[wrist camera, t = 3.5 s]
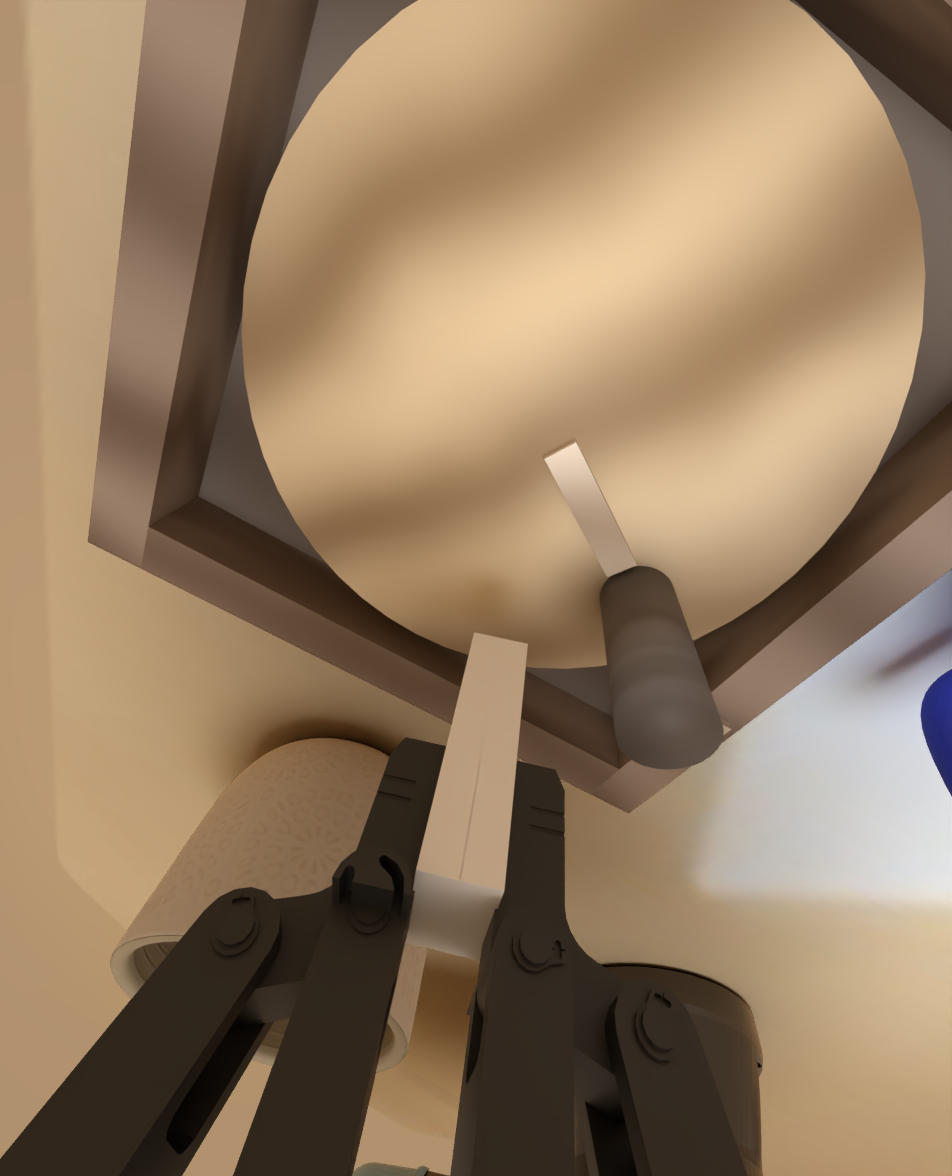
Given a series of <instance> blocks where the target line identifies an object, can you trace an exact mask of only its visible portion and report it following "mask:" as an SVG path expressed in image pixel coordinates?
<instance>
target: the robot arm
mask: <svg viewBox="0 0 952 1176" xmlns="http://www.w3.org/2000/svg"><path fill="white" fill-rule="evenodd" d="M527 647H528V644H526V643H522V642H517V641H512V640H508V639H503V638H498V637H494V636H489V635H484V634H480V633H475V632H474V635H473V639H472V643H471V648H470V652H469V656H468V660H467V664H466V668H465V672H464V676H463V680H462V684H461V688H460V692H459V697H458V701H457V705H456V709H455V713H454V717H453V721H452V725H451V729H450V733H449V737H448V741H447V746H442V745H438V744H433V743H429V742H425V741H420V740H416V739H411V738H407V737H406V738H405V739H404V740H403V741H402V742H401V743H400V744H399V745H398V746H397V747H396V748H395V749H394V750H393V751H392V752H391V754H390V757H389V759H388V762H387V765H386V768H385V771H384V774H383V777H382V779H381V782H380V785H379V788H378V790H377V794H376V796H375V799H374V802H373V804H372V807H371V810H370V813H369V816H368V818H367V821H366V824H365V827H364V830H363V833H362V835H361V838H360V841H359V844H358V847H357V849H356V851H354V852H353V853H351V854H350V855H349V856H348V857H347V858H345V859H344V860H343V861H342V862H341V863H340V864H339V866H338V868H337V869H336V871H335V873H334V874H333V876H332V885H331V886H330V887H328V888H326V889H324V890H322V891H320V892H316V893H312V894H308V895H302V896H294V897H287V898H279V899H273V898H272V897H271V896H270V895H269V894H268V893H267V892H266V891H264V890H260V889H257V888H253V887H247V888H239V889H234V890H232V891H230V892H228V893H226V894H224V895H222V896H220V897H218V898H217V899H216V900H215V901H214V902H213V903H212V904H211V905H209V906H208V907H207V908H206V909H205V910H204V911H203V912H202V914H201V915H200V916H199V917H198V919H197V920H196V921H195V922H194V923H193V925H192V926H191V927H190V928H189V929H188V931H187V932H186V933H185V934H184V936H183V937H182V938H181V939H180V940H179V942H178V943H177V944H176V945H175V947H174V948H173V949H172V950H171V951H170V953H169V954H168V955H167V956H166V958H165V959H164V960H163V961H162V962H161V964H160V965H159V966H158V967H157V968H156V970H155V971H154V972H153V973H152V975H151V976H150V977H149V978H148V979H147V981H146V982H145V983H144V984H143V986H142V987H141V988H140V989H139V990H138V992H137V993H136V994H135V995H134V997H133V998H132V999H131V1000H130V1001H129V1003H128V1004H127V1005H126V1006H125V1008H124V1009H123V1010H122V1011H121V1012H120V1014H119V1015H118V1016H117V1017H116V1018H115V1020H114V1021H113V1022H112V1023H111V1025H110V1026H109V1027H108V1028H107V1029H106V1031H105V1032H104V1033H103V1034H102V1036H101V1037H100V1038H99V1039H98V1040H97V1042H96V1043H95V1044H94V1045H93V1046H92V1048H91V1049H90V1050H89V1051H88V1053H87V1054H86V1055H85V1056H84V1058H83V1059H82V1060H81V1061H80V1062H79V1064H78V1065H77V1066H76V1067H75V1068H74V1070H73V1071H72V1072H71V1073H70V1075H69V1076H68V1077H67V1078H66V1080H65V1081H64V1082H63V1083H62V1084H61V1086H60V1087H59V1088H58V1089H57V1090H56V1092H55V1093H54V1094H53V1095H52V1096H51V1098H50V1099H49V1100H48V1101H47V1103H46V1104H45V1105H44V1106H43V1108H42V1109H41V1110H40V1111H39V1112H38V1114H37V1115H36V1116H35V1117H34V1119H33V1120H32V1121H31V1122H30V1123H29V1124H28V1126H27V1127H26V1128H25V1129H24V1131H23V1132H22V1133H21V1134H20V1136H19V1137H18V1138H17V1139H16V1140H15V1142H14V1143H13V1144H12V1145H11V1146H10V1148H9V1149H8V1150H7V1151H6V1153H5V1154H4V1155H3V1156H2V1157H1V1159H0V1176H182V1175H183V1173H184V1172H185V1170H186V1168H187V1167H188V1165H189V1163H190V1162H191V1160H192V1158H193V1157H194V1155H195V1153H196V1152H197V1150H198V1148H199V1147H200V1145H201V1143H202V1142H203V1140H204V1138H205V1137H206V1135H207V1133H208V1132H209V1130H210V1128H211V1127H212V1125H213V1123H214V1121H215V1120H216V1118H217V1117H218V1115H219V1113H220V1111H221V1110H222V1108H223V1107H224V1105H225V1103H226V1102H227V1100H228V1098H229V1096H230V1095H231V1093H232V1091H233V1090H234V1088H235V1086H236V1085H237V1083H238V1081H239V1080H240V1078H241V1076H242V1075H243V1073H244V1071H245V1070H246V1068H247V1066H248V1065H249V1063H250V1061H251V1060H252V1058H253V1056H254V1055H255V1053H256V1051H257V1050H258V1048H259V1046H260V1045H261V1043H262V1041H263V1040H264V1038H265V1036H266V1035H267V1033H268V1031H269V1030H270V1028H271V1026H272V1025H273V1023H274V1021H278V1020H283V1019H289V1018H290V1020H289V1023H288V1025H287V1028H286V1031H285V1034H284V1036H283V1039H282V1042H281V1045H280V1047H279V1050H278V1053H277V1056H276V1058H275V1061H274V1064H273V1067H272V1069H271V1072H270V1075H269V1078H268V1081H267V1083H266V1086H265V1089H264V1092H263V1094H262V1097H261V1100H260V1103H259V1106H258V1108H257V1111H256V1114H255V1117H254V1119H253V1122H252V1125H251V1128H250V1130H249V1133H248V1136H247V1139H246V1142H245V1144H244V1147H243V1150H242V1152H241V1155H240V1158H239V1161H238V1164H237V1166H236V1169H235V1172H234V1174H233V1176H448V1175H443V1174H439V1173H435V1172H431V1171H428V1170H429V1168H427V1167H425V1166H420V1167H419V1168H418V1169H413V1168H407V1167H400V1166H394V1165H388V1164H382V1163H367V1164H364V1165H362V1166H360V1167H358V1168H357V1169H356V1170H354V1165H355V1161H356V1156H357V1152H358V1148H359V1144H360V1139H361V1135H362V1131H363V1126H364V1122H365V1118H366V1113H367V1109H368V1105H369V1100H370V1096H371V1092H372V1087H373V1083H374V1079H375V1074H376V1070H377V1066H378V1061H379V1057H380V1053H381V1048H382V1044H383V1040H384V1035H385V1031H386V1027H387V1022H388V1018H389V1014H390V1010H391V1005H392V1001H393V997H394V992H395V988H396V984H397V978H398V972H399V967H400V963H401V959H402V955H403V950H404V946H405V943H407V944H411V945H415V946H419V947H424V948H428V949H432V950H436V951H440V952H445V953H449V954H453V955H457V956H461V957H465V958H470V959H474V960H478V961H479V959H480V956H481V959H480V967H479V976H478V983H477V986H476V989H475V991H474V994H473V997H472V999H471V1002H470V1005H469V1009H468V1012H467V1015H471V1016H470V1024H469V1032H468V1040H467V1048H466V1056H465V1064H464V1071H463V1079H462V1087H461V1095H460V1103H459V1111H458V1119H457V1127H456V1135H455V1143H454V1150H453V1158H452V1166H451V1174H450V1176H763V1173H762V1161H761V1112H760V1090H759V1076H760V1074H761V1072H762V1065H763V1055H762V1049H761V1045H760V1041H759V1037H758V1033H757V1029H756V1025H755V1021H754V1017H753V1014H752V1012H751V1010H750V1008H749V1007H748V1006H747V1005H746V1003H745V1002H744V1001H743V1000H741V999H740V998H739V997H738V996H736V995H735V994H733V993H732V992H730V991H729V990H727V989H725V988H723V987H721V986H719V985H717V984H715V983H712V982H710V981H707V980H705V979H702V978H699V977H695V976H692V975H688V974H684V973H680V972H676V971H671V970H665V969H658V968H649V967H631V966H620V967H603V966H602V965H600V964H599V963H597V962H596V961H595V960H593V959H592V958H591V957H590V956H588V955H587V954H586V953H585V952H584V951H583V949H582V948H581V947H580V946H579V945H578V943H577V942H576V940H575V938H574V937H573V935H572V933H571V931H570V929H569V926H568V923H567V920H566V914H565V837H564V832H565V824H564V789H563V786H562V784H561V781H560V779H559V777H558V774H557V772H556V769H551V768H547V767H542V766H538V765H533V764H529V763H524V762H520V761H517V753H518V742H519V732H520V721H521V711H522V700H523V689H524V679H525V668H526V658H527ZM353 1170H354V1171H353Z"/></svg>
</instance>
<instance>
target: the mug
mask: <svg viewBox="0 0 952 1176" xmlns="http://www.w3.org/2000/svg"><path fill="white" fill-rule="evenodd" d="M921 722H922V729H923V733H924V736H925V739H926V743H927V746H928V748H929V750H930V753H931V755H932V758H933V760H934V762H935V765H936V767H937V769H938V771H939V773H940V775H941V777H942V779H943V781H944V783H945V785H946V787H947V789H948V790H949V792H950V794H951V796H952V669H951V670H949V671H947V672H946V673H944V674H943V675H942V676H940V677H939V678H938V679H937V680H936V681H935V682H934V683H933V684H932V685H931V686H930V688H929V689H928V691H927V692H926V694H925V696H924V699H923V702H922V707H921Z"/></svg>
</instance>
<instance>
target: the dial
mask: <svg viewBox="0 0 952 1176" xmlns="http://www.w3.org/2000/svg"><path fill="white" fill-rule="evenodd" d="M924 290H925V263H924V252H923V241H922V229H921V218H920V213H919V209H918V205H917V201H916V197H915V193H914V189H913V185H912V181H911V177H910V173H909V169H908V165H907V161H906V159H905V156H904V154H903V152H902V149H901V147H900V145H899V142H898V140H897V138H896V136H895V133H894V131H893V129H892V126H891V124H890V122H889V120H888V117H887V115H886V113H885V110H884V108H883V106H882V104H881V103H880V101H879V100H878V98H877V97H876V95H875V94H874V92H873V91H872V89H871V88H870V86H869V85H868V83H867V82H866V80H865V79H864V77H863V76H862V74H861V73H860V71H859V70H858V68H857V67H856V65H855V64H854V62H853V61H852V59H851V58H850V56H849V55H848V54H847V53H846V52H845V51H844V50H843V49H842V48H841V47H840V46H839V45H838V44H837V43H836V42H835V41H834V40H833V39H832V38H831V37H830V36H829V35H828V34H827V33H826V32H825V31H824V30H823V29H822V28H821V27H820V26H819V25H818V24H817V23H816V22H815V21H814V20H813V19H812V18H811V17H810V16H809V15H808V14H807V13H806V12H805V11H804V10H803V9H801V8H800V7H798V6H797V5H795V4H794V3H792V2H791V1H789V0H418V1H416V2H414V3H413V4H411V5H410V6H408V7H406V8H405V9H403V10H402V11H400V12H399V13H398V14H397V15H396V16H395V17H394V18H392V19H391V20H390V21H389V22H388V23H387V24H386V25H384V26H383V27H382V28H381V29H380V30H379V31H377V32H376V33H375V34H374V35H373V36H372V37H371V38H369V39H368V40H367V41H366V42H365V43H364V44H363V45H361V46H360V47H359V48H358V49H357V50H356V51H355V52H354V53H353V54H352V56H351V57H350V58H349V59H348V60H347V62H346V63H345V64H344V65H343V66H342V67H341V69H340V70H339V71H338V72H337V73H336V75H335V76H334V77H333V78H332V79H331V81H330V82H329V83H328V84H327V85H326V86H325V88H324V89H323V90H322V91H321V92H320V94H319V95H318V96H317V98H316V100H315V101H314V103H313V104H312V106H311V108H310V109H309V111H308V112H307V114H306V116H305V117H304V119H303V120H302V122H301V124H300V125H299V127H298V128H297V130H296V132H295V133H294V135H293V136H292V138H291V140H290V141H289V143H288V145H287V147H286V150H285V152H284V154H283V156H282V159H281V161H280V163H279V165H278V167H277V170H276V172H275V174H274V176H273V179H272V181H271V183H270V185H269V187H268V190H267V192H266V196H265V199H264V202H263V205H262V209H261V212H260V215H259V219H258V222H257V225H256V229H255V232H254V235H253V239H252V243H251V249H250V255H249V261H248V267H247V272H246V278H245V284H244V295H243V315H242V348H243V363H244V377H245V383H246V388H247V394H248V399H249V405H250V410H251V416H252V420H253V423H254V427H255V430H256V433H257V437H258V440H259V443H260V447H261V450H262V453H263V457H264V459H265V461H266V464H267V466H268V468H269V471H270V473H271V475H272V478H273V480H274V482H275V485H276V487H277V489H278V492H279V493H280V495H281V497H282V499H283V500H284V502H285V504H286V506H287V508H288V509H289V511H290V513H291V515H292V517H293V518H294V520H295V522H296V523H297V525H298V526H299V528H300V529H301V530H302V532H303V533H304V535H305V536H306V538H307V539H308V540H309V542H310V543H311V545H312V546H313V547H314V549H315V550H316V551H317V553H318V554H319V555H320V556H321V557H322V558H323V559H324V561H325V562H326V563H327V564H328V565H329V566H330V567H331V568H332V570H333V571H334V572H335V573H336V574H337V575H338V576H339V577H340V578H341V579H342V580H343V581H344V582H345V583H346V584H347V585H348V586H350V587H351V588H352V589H353V590H354V591H355V592H356V593H357V594H358V595H359V596H360V597H362V598H363V599H364V600H365V601H367V602H368V603H369V604H371V605H372V606H373V607H375V608H376V609H378V610H379V611H380V612H382V613H383V614H384V615H386V616H387V617H388V618H390V619H392V620H393V621H395V622H397V623H398V624H400V625H402V626H404V627H405V628H407V629H409V630H410V631H412V632H414V633H415V634H418V635H420V636H422V637H424V638H426V639H428V640H430V641H433V642H435V643H437V644H439V645H441V646H443V647H446V648H449V649H452V650H455V651H458V652H461V653H464V654H467V655H469V652H470V648H471V643H472V639H473V635H474V632H475V633H480V634H484V635H489V636H494V637H498V638H503V639H508V640H512V641H517V642H522V643H526V644H528V647H527V658H526V667H532V668H559V669H569V668H583V667H597V666H604V665H607V668H608V677H609V686H610V694H611V703H612V712H613V721H614V729H615V738H616V742H617V745H618V747H619V748H620V750H621V751H622V752H623V753H624V754H625V755H626V756H627V757H628V758H629V759H631V760H633V761H634V762H636V763H638V764H640V765H643V766H646V767H650V768H655V769H680V768H685V767H689V766H692V765H695V764H698V763H700V762H702V761H704V760H705V759H707V758H708V757H710V756H711V755H712V754H713V753H714V752H715V751H716V750H717V749H718V747H719V746H720V744H721V742H722V739H723V735H724V729H723V724H722V721H721V719H720V716H719V713H718V710H717V707H716V705H715V702H714V699H713V696H712V693H711V690H710V688H709V685H708V682H707V679H706V676H705V674H704V671H703V668H702V665H701V662H700V660H699V657H698V654H697V651H696V648H695V646H694V643H693V640H695V639H698V638H700V637H702V636H703V635H705V634H707V633H709V632H711V631H713V630H715V629H717V628H719V627H721V626H723V625H725V624H727V623H729V622H731V621H732V620H734V619H735V618H737V617H738V616H740V615H741V614H743V613H744V612H746V611H748V610H749V609H751V608H752V607H754V606H755V605H757V604H758V603H760V602H761V601H763V600H764V599H765V598H766V597H768V596H769V595H770V594H771V593H773V592H774V591H775V590H776V589H778V588H779V587H780V586H781V585H783V584H784V583H785V582H786V581H787V580H789V579H790V578H791V577H792V576H794V575H795V574H796V573H797V572H798V571H799V570H800V569H801V568H802V567H803V566H804V565H805V564H806V563H807V562H808V561H809V560H810V559H811V558H812V557H813V555H814V554H815V553H816V552H817V551H818V550H819V549H820V548H821V547H822V546H823V545H824V544H825V543H826V542H827V540H828V539H829V538H830V537H831V535H832V534H833V533H834V532H835V530H836V529H837V528H838V527H839V525H840V524H841V523H842V522H843V520H844V519H845V518H846V517H847V515H848V514H849V513H850V512H851V510H852V508H853V507H854V505H855V504H856V502H857V500H858V499H859V497H860V496H861V494H862V493H863V491H864V489H865V488H866V486H867V485H868V483H869V481H870V480H871V478H872V477H873V475H874V473H875V472H876V470H877V468H878V465H879V463H880V461H881V459H882V457H883V455H884V453H885V451H886V449H887V447H888V444H889V442H890V440H891V438H892V436H893V434H894V432H895V430H896V427H897V424H898V421H899V418H900V415H901V412H902V409H903V406H904V403H905V400H906V397H907V394H908V391H909V388H910V385H911V382H912V379H913V373H914V368H915V363H916V358H917V353H918V348H919V343H920V338H921V333H922V325H923V308H924Z"/></svg>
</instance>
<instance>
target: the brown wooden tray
mask: <svg viewBox="0 0 952 1176" xmlns="http://www.w3.org/2000/svg"><path fill="white" fill-rule="evenodd" d="M416 1H418V0H147V1H146V11H145V20H144V29H143V38H142V48H141V57H140V66H139V75H138V84H137V94H136V103H135V112H134V121H133V131H132V140H131V149H130V158H129V167H128V177H127V186H126V195H125V204H124V214H123V223H122V232H121V241H120V250H119V260H118V269H117V278H116V287H115V296H114V306H113V315H112V324H111V333H110V343H109V352H108V361H107V370H106V379H105V389H104V398H103V407H102V416H101V426H100V435H99V444H98V453H97V462H96V472H95V481H94V490H93V499H92V508H91V518H90V527H89V536H88V542H89V543H91V544H93V545H95V546H97V547H99V548H101V549H103V550H105V551H107V552H109V553H111V554H113V555H115V556H117V557H119V558H121V559H123V560H125V561H127V562H129V563H131V564H133V565H135V566H137V567H139V568H141V569H143V570H145V571H147V572H149V573H151V574H153V575H155V576H157V577H159V578H161V579H163V580H165V581H167V582H169V583H171V584H173V585H175V586H177V587H179V588H181V589H183V590H185V591H187V592H189V593H191V594H193V595H195V596H197V597H199V598H201V599H203V600H205V601H207V602H209V603H211V604H213V605H215V606H217V607H219V608H221V609H223V610H225V611H227V612H229V613H231V614H233V615H235V616H237V617H239V618H241V619H243V620H245V621H247V622H249V623H251V624H253V625H255V626H257V627H259V628H261V629H263V630H265V631H266V632H268V633H270V634H272V635H274V636H276V637H278V638H280V639H282V640H284V641H286V642H288V643H290V644H292V645H294V646H296V647H298V648H300V649H302V650H304V651H306V652H308V653H310V654H312V655H314V656H316V657H318V658H320V659H322V660H324V661H326V662H328V663H330V664H332V665H334V666H336V667H338V668H340V669H342V670H344V671H346V672H348V673H350V674H352V675H354V676H356V677H358V678H360V679H362V680H364V681H366V682H368V683H370V684H372V685H374V686H376V687H378V688H380V689H382V690H384V691H386V692H388V693H390V694H392V695H394V696H396V697H398V698H400V699H402V700H404V701H406V702H408V703H410V704H412V705H414V706H416V707H418V708H420V709H422V710H424V711H426V712H428V713H430V714H432V715H434V716H436V717H438V718H440V719H442V720H444V721H446V722H448V723H450V724H452V721H453V717H454V713H455V709H456V705H457V701H458V697H459V692H460V688H461V684H462V680H463V676H464V672H465V668H466V664H467V660H468V656H469V655H467V654H464V653H461V652H458V651H455V650H452V649H449V648H446V647H443V646H441V645H439V644H437V643H435V642H433V641H430V640H428V639H426V638H424V637H422V636H420V635H418V634H415V633H414V632H412V631H410V630H409V629H407V628H405V627H404V626H402V625H400V624H398V623H397V622H395V621H393V620H392V619H390V618H388V617H387V616H386V615H384V614H383V613H382V612H380V611H379V610H378V609H376V608H375V607H373V606H372V605H371V604H369V603H368V602H367V601H365V600H364V599H363V598H362V597H360V596H359V595H358V594H357V593H356V592H355V591H354V590H353V589H352V588H351V587H350V586H348V585H347V584H346V583H345V582H344V581H343V580H342V579H341V578H340V577H339V576H338V575H337V574H336V573H335V572H334V571H333V570H332V568H331V567H330V566H329V565H328V564H327V563H326V562H325V561H324V559H323V558H322V557H321V556H320V555H319V554H318V553H317V551H316V550H315V549H314V547H313V546H312V545H311V543H310V542H309V540H308V539H307V538H306V536H305V535H304V533H303V532H302V530H301V529H300V528H299V526H298V525H297V523H296V522H295V520H294V518H293V517H292V515H291V513H290V511H289V509H288V508H287V506H286V504H285V502H284V500H283V499H282V497H281V495H280V493H279V492H278V489H277V487H276V485H275V482H274V480H273V478H272V475H271V473H270V471H269V468H268V466H267V464H266V461H265V459H264V457H263V453H262V450H261V447H260V443H259V440H258V437H257V433H256V430H255V427H254V423H253V420H252V416H251V410H250V405H249V399H248V394H247V388H246V383H245V377H244V363H243V348H242V315H243V295H244V284H245V278H246V272H247V267H248V261H249V255H250V249H251V243H252V239H253V235H254V232H255V229H256V225H257V222H258V219H259V215H260V212H261V209H262V205H263V202H264V199H265V196H266V192H267V190H268V187H269V185H270V183H271V181H272V179H273V176H274V174H275V172H276V170H277V167H278V165H279V163H280V161H281V159H282V156H283V154H284V152H285V150H286V147H287V145H288V143H289V141H290V140H291V138H292V136H293V135H294V133H295V132H296V130H297V128H298V127H299V125H300V124H301V122H302V120H303V119H304V117H305V116H306V114H307V112H308V111H309V109H310V108H311V106H312V104H313V103H314V101H315V100H316V98H317V96H318V95H319V94H320V92H321V91H322V90H323V89H324V88H325V86H326V85H327V84H328V83H329V82H330V81H331V79H332V78H333V77H334V76H335V75H336V73H337V72H338V71H339V70H340V69H341V67H342V66H343V65H344V64H345V63H346V62H347V60H348V59H349V58H350V57H351V56H352V54H353V53H354V52H355V51H356V50H357V49H358V48H359V47H360V46H361V45H363V44H364V43H365V42H366V41H367V40H368V39H369V38H371V37H372V36H373V35H374V34H375V33H376V32H377V31H379V30H380V29H381V28H382V27H383V26H384V25H386V24H387V23H388V22H389V21H390V20H391V19H392V18H394V17H395V16H396V15H397V14H398V13H399V12H400V11H402V10H403V9H405V8H406V7H408V6H410V5H411V4H413V3H414V2H416ZM789 1H791V2H792V3H794V4H795V5H797V6H798V7H800V8H801V9H803V10H804V11H805V12H806V13H807V14H808V15H809V16H810V17H811V18H812V19H813V20H814V21H815V22H816V23H817V24H818V25H819V26H820V27H821V28H822V29H823V30H824V31H825V32H826V33H827V34H828V35H829V36H830V37H831V38H832V39H833V40H834V41H835V42H836V43H837V44H838V45H839V46H840V47H841V48H842V49H843V50H844V51H845V52H846V53H847V54H848V55H849V56H850V58H851V59H852V61H853V62H854V64H855V65H856V67H857V68H858V70H859V71H860V73H861V74H862V76H863V77H864V79H865V80H866V82H867V83H868V85H869V86H870V88H871V89H872V91H873V92H874V94H875V95H876V97H877V98H878V100H879V101H880V103H881V104H882V106H883V108H884V110H885V113H886V115H887V117H888V120H889V122H890V124H891V126H892V129H893V131H894V133H895V136H896V138H897V140H898V142H899V145H900V147H901V149H902V152H903V154H904V156H905V159H906V161H907V165H908V169H909V173H910V177H911V181H912V185H913V189H914V193H915V197H916V201H917V205H918V209H919V213H920V218H921V229H922V241H923V252H924V263H925V290H924V308H923V325H922V333H921V338H920V343H919V348H918V353H917V358H916V363H915V368H914V373H913V379H912V382H911V385H910V388H909V391H908V394H907V397H906V400H905V403H904V406H903V409H902V412H901V415H900V418H899V421H898V424H897V427H896V430H895V432H894V434H893V436H892V438H891V440H890V442H889V444H888V447H887V449H886V451H885V453H884V455H883V457H882V459H881V461H880V463H879V465H878V468H877V470H876V472H875V473H874V475H873V477H872V478H871V480H870V481H869V483H868V485H867V486H866V488H865V489H864V491H863V493H862V494H861V496H860V497H859V499H858V500H857V502H856V504H855V505H854V507H853V508H852V510H851V512H850V513H849V514H848V515H847V517H846V518H845V519H844V520H843V522H842V523H841V524H840V525H839V527H838V528H837V529H836V530H835V532H834V533H833V534H832V535H831V537H830V538H829V539H828V540H827V542H826V543H825V544H824V545H823V546H822V547H821V548H820V549H819V550H818V551H817V552H816V553H815V554H814V555H813V557H812V558H811V559H810V560H809V561H808V562H807V563H806V564H805V565H804V566H803V567H802V568H801V569H800V570H799V571H798V572H797V573H796V574H795V575H794V576H792V577H791V578H790V579H789V580H787V581H786V582H785V583H784V584H783V585H781V586H780V587H779V588H778V589H776V590H775V591H774V592H773V593H771V594H770V595H769V596H768V597H766V598H765V599H764V600H763V601H761V602H760V603H758V604H757V605H755V606H754V607H752V608H751V609H749V610H748V611H746V612H744V613H743V614H741V615H740V616H738V617H737V618H735V619H734V620H732V621H731V622H729V623H727V624H725V625H723V626H721V627H719V628H717V629H715V630H713V631H711V632H709V633H707V634H705V635H703V636H702V637H700V638H698V639H695V640H693V643H694V646H695V648H696V651H697V654H698V657H699V660H700V662H701V665H702V668H703V671H704V674H705V676H706V679H707V682H708V685H709V688H710V690H711V693H712V696H713V699H714V702H715V705H716V707H717V710H718V713H719V716H720V719H721V721H722V724H723V729H724V735H723V739H722V742H724V741H725V740H726V739H728V738H729V737H730V736H732V735H733V734H734V733H736V732H737V731H738V730H740V729H741V728H742V727H743V726H745V725H746V724H747V723H749V722H750V721H751V720H753V719H754V718H755V717H757V716H758V715H759V714H761V713H762V712H763V711H765V710H766V709H767V708H769V707H770V706H771V705H773V704H774V703H775V702H776V701H778V700H779V699H780V698H782V697H783V696H784V695H786V694H787V693H788V692H790V691H791V690H792V689H794V688H795V687H796V686H798V685H799V684H800V683H802V682H803V681H804V680H806V679H807V678H808V677H810V676H811V675H812V674H813V673H815V672H816V671H817V670H819V669H820V668H821V667H823V666H824V665H825V664H827V663H828V662H829V661H831V660H832V659H833V658H835V657H836V656H837V655H839V654H840V653H841V652H843V651H844V650H845V649H846V648H848V647H849V646H850V645H852V644H853V643H854V642H856V641H857V640H858V639H860V638H861V637H862V636H864V635H865V634H866V633H868V632H869V631H870V630H872V629H873V628H874V627H876V626H877V625H878V624H879V623H881V622H882V621H883V620H885V619H886V618H887V617H889V616H890V615H891V614H893V613H894V612H895V611H897V610H898V609H899V608H901V607H902V606H903V605H905V604H906V603H907V602H909V601H910V600H911V599H913V598H914V597H915V596H916V595H918V594H919V593H920V592H922V591H923V590H924V589H926V588H927V587H928V586H930V585H931V584H932V583H934V582H935V581H936V580H938V579H939V578H940V577H942V576H943V575H944V574H946V573H947V572H948V571H949V570H951V569H952V0H789ZM722 742H721V743H722ZM517 757H518V758H520V759H522V760H524V761H526V762H528V763H530V764H533V765H538V766H542V767H547V768H551V769H556V772H557V774H558V777H559V778H560V779H562V780H564V781H566V782H568V783H570V784H572V785H573V786H575V787H577V788H579V789H581V790H583V791H585V792H587V793H589V794H591V795H593V796H595V797H597V798H599V799H601V800H603V801H605V802H607V803H609V804H611V805H613V806H615V807H617V808H619V809H621V810H623V811H625V812H627V813H630V812H631V811H633V810H634V809H635V808H637V807H638V806H639V805H640V804H642V803H643V802H644V801H646V800H647V799H648V798H650V797H651V796H652V795H654V794H655V793H656V792H658V791H659V790H660V789H662V788H663V787H664V786H666V785H667V784H668V783H670V782H671V781H672V780H673V779H675V778H676V777H677V776H679V775H680V774H681V773H683V772H684V771H685V770H687V769H688V768H689V767H691V766H689V767H685V768H680V769H655V768H650V767H646V766H643V765H640V764H638V763H636V762H634V761H633V760H631V759H629V758H628V757H627V756H626V755H625V754H624V753H623V752H622V751H621V750H620V748H619V747H618V745H617V742H616V738H615V729H614V721H613V712H612V703H611V694H610V686H609V677H608V668H607V665H604V666H597V667H583V668H569V669H559V668H532V667H526V668H525V679H524V689H523V700H522V711H521V721H520V732H519V742H518V753H517Z"/></svg>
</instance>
